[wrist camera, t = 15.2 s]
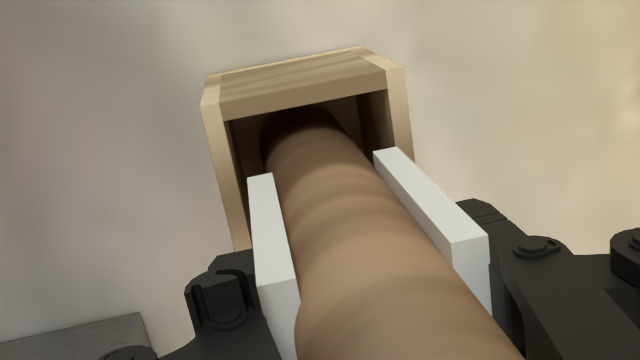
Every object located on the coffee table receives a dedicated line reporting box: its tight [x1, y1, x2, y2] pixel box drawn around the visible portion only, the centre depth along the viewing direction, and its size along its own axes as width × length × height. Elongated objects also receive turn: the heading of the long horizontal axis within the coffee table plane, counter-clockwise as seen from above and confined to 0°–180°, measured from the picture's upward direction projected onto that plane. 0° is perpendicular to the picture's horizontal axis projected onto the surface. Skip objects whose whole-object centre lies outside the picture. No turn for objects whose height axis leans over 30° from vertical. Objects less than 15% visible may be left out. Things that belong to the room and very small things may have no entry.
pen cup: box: [200, 46, 415, 252], centre depth 22 cm, size 7×7×7 cm
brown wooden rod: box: [260, 103, 525, 360], centre depth 16 cm, size 4×4×18 cm
